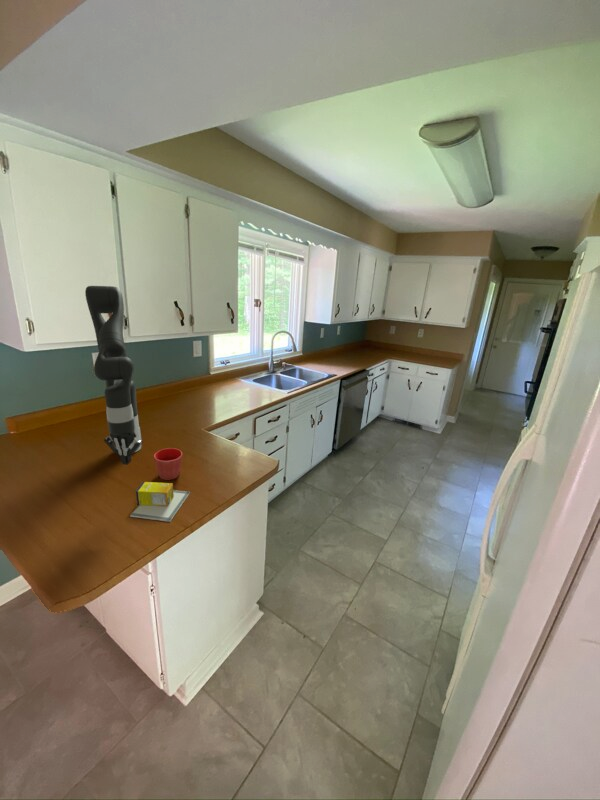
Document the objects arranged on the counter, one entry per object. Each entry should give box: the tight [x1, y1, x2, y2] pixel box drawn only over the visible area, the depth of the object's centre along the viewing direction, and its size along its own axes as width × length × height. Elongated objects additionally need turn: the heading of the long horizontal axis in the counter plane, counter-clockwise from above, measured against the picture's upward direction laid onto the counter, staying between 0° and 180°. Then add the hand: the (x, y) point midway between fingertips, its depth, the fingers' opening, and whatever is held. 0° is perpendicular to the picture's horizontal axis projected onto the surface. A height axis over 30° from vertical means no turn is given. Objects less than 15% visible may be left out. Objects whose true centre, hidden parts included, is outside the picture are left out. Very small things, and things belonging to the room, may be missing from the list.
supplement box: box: [135, 481, 174, 506], centre depth 114 cm, size 6×6×11 cm
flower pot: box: [153, 447, 183, 481], centre depth 129 cm, size 11×11×10 cm
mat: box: [130, 489, 191, 523], centre depth 114 cm, size 16×14×1 cm
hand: (126, 463), depth 109 cm, fingers closed
